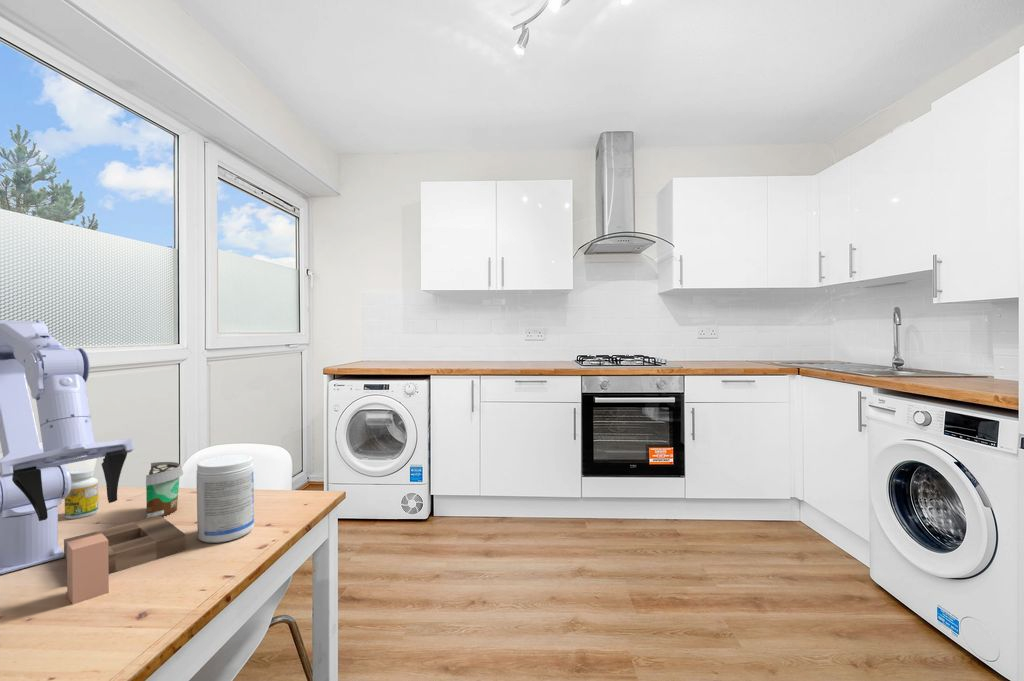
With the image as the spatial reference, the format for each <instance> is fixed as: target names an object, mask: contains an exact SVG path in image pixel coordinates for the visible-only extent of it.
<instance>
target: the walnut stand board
mask: <svg viewBox="0 0 1024 681" xmlns="http://www.w3.org/2000/svg"><path fill="white" fill-rule="evenodd" d="M101 533H102V534H103V535H104V536H105V537H106V538H107V539H108V564H109V575H110V574H113V573H117V572H120V571H123V570H125V569H130V568H132V567H135V566H138V565H139V566H140V565H141V564H146V563H148V561H149V562H151V561H155V560H158V559H162V558H164V557H167V556H171V555H174V554H177V553H180V552H183V551H185V550H186V534H185V532H183V531H181V530H180V529H179V528H178V527H177V526H175V525H174V524H172V523H171V522H170V521H168V520H167V519H166V518H165V517H162V516H161V515H159V516H155V517H151V518H147V517H146V518H143V519H139V520H136V521H132V522H128V523H125V524H120V525H116V526H112V527H108V528H104V529H100V530H96V531H93V532H89V533H84V534H81V535H76V536H73V537H68V538H64V539H63V552H64V554H65V556H64V557H63V558H65V560H66V561H67V542H70V541H74V540H78V539H82V538H86V537H90V536H94V535H97V534H101Z"/></svg>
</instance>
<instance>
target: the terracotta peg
mask: <svg viewBox="0 0 1024 681" xmlns="http://www.w3.org/2000/svg"><path fill="white" fill-rule="evenodd" d="M66 569H67V570H66V572H67V573H66V575H67V576H66V579H67V580H66V581H67V582H66V584H67V586H66V588H67V591H66V595H67V597H68V599H69V600H70V602H71V604H72V605H76V604H79V603H82V602H84V601H89V600H90V599H93V598H96V597H99V596H103V595H106V594H108V592H109V584H110V583H109V575H110V574H109V564H108V539H107V538H106V537H105V536H104V535H103V534H102V533H101V534H97V535H94V536H90V537H86V538H82V539H78V540H74V541H70V542H67V560H66ZM105 593H106V594H105Z"/></svg>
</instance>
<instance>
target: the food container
mask: <svg viewBox="0 0 1024 681" xmlns="http://www.w3.org/2000/svg"><path fill="white" fill-rule="evenodd" d="M183 475H184V471H183V467H182V465H181V463H179V462H175V461H158V462H157V461H156V462H151V463H150V470H149V472H148V474H146V476H145V486H146V490H145V491H146V494H145V495H146V496H145V497H146V519H147V518H151V517H155V516H159V515H161V516H162V517H163V518H165V517H164V516H166V517H168V516H167V515H169V516H171V515H172V514H171V513H173V512H174V513H176V512H177V510H178V500H179V488H180V477H182V476H183ZM175 511H176V512H175ZM174 513H173V514H174ZM170 514H171V515H170Z"/></svg>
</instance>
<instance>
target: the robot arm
mask: <svg viewBox="0 0 1024 681" xmlns="http://www.w3.org/2000/svg"><path fill="white" fill-rule="evenodd" d="M89 376H90V360H89V356H88V354H87V352H86V350H85V349H84V348H81V347H78V348H77V347H76V348H73V349H69V348H67V347H66V346H65V345H64V344H63V343H61V342H60V341H59V340H57V339H56V338H55V337H53V336H52V335H51V334H50V333H49V328H48V326H47V324H46V323H45V322H44V321H43V320H39V319H37V320H7V319H6V320H3V319H1V320H0V447H1V453H2V458H0V575H3V574H6V573H7V574H8V573H10V572H14V571H18V570H21V569H25V568H26V569H27V568H30V567H33V566H37V565H39V564H43V563H48V562H52V561H55V560H58V559H62V558H65V557H64V556H65V554H64V550H63V549H62V548H61V546H60V545H59V536H58V535H59V534H58V533H59V532H58V531H59V530H58V526H59V523H58V521H59V520H58V518H59V513H58V511H59V510H58V507H59V505H60V506H61V505H62V503H63V502H62V500H65V498H66V497H67V495H68V494H69V493H70V490H71V475H70V472H71V471H70V470H69V468H68V467H67V465H68V464H73V463H79V462H82V461H83V462H84V461H87V460H93V459H98V458H102V462H101V463H100V464H101V467H102V471H103V472H102V473H103V475H104V479H105V484H106V495H107V501H108V504H111V503H115V502H116V501H118V489H119V483H120V482H119V481H120V477H121V473H122V470H123V466H124V465H125V461H126V459H127V456H128V453H131V452H133V450H134V444H133V439H132V438H126V439H120V440H119V439H118V440H110V441H100V442H96V440H95V435H94V429H93V422H92V416H91V412H90V411H91V410H90V405H89V398H88V393H87V392H88V391H87V387H86V386H87V385H86V383H87V381H88V378H89ZM28 387H29V388H28ZM29 389H30V391H29ZM30 395H31V396H30ZM31 398H32V399H34V400H35V402H36V407H37V415H38V416H37V417H38V424H39V430H40V436H41V441H40V436H39V432H38V427H37V424H36V419H35V413H34V410H33V405H32V400H31ZM41 443H42V444H41ZM41 445H42V446H41ZM103 457H104V458H103Z"/></svg>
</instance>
